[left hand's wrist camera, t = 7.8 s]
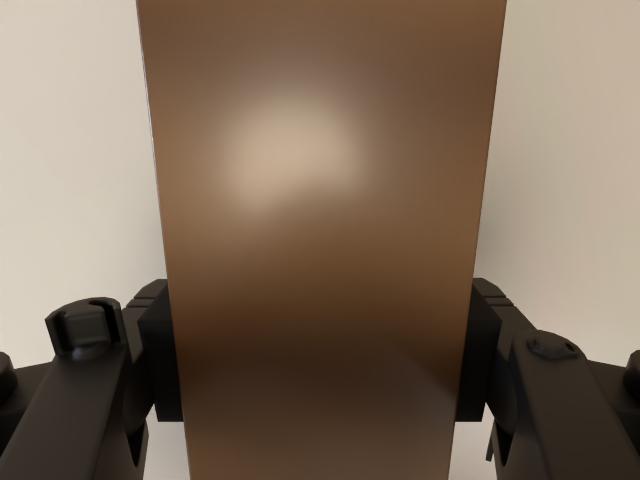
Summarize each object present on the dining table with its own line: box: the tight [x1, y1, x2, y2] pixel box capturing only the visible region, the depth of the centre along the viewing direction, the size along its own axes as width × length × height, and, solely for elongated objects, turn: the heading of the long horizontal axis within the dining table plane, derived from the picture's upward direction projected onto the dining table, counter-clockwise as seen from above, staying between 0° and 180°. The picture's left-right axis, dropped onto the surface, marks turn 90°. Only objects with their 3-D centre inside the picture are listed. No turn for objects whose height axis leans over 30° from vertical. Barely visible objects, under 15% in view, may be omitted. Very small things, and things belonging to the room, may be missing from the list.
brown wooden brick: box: [136, 0, 507, 480], centre depth 10 cm, size 19×6×8 cm, turn 0°
